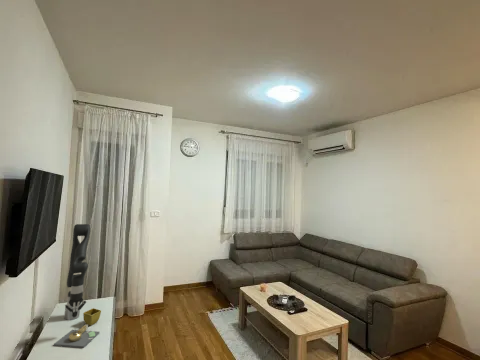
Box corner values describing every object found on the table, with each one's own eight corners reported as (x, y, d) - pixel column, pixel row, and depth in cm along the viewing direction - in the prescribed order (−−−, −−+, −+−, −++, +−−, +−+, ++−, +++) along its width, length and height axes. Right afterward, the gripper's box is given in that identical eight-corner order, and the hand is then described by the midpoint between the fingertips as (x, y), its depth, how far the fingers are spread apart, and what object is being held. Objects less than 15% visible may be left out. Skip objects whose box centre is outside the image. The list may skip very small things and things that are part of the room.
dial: (76, 342, 160) (77, 336, 160) (66, 341, 160) (66, 335, 161) (91, 329, 175) (91, 324, 175) (81, 329, 175) (82, 323, 175)
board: (53, 345, 157) (53, 343, 157) (73, 330, 175) (73, 328, 175) (85, 348, 157) (85, 345, 157) (101, 332, 175) (101, 330, 175)
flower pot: (100, 322, 188) (101, 310, 189) (90, 327, 180) (91, 315, 181) (92, 319, 191) (93, 308, 192) (81, 325, 183) (83, 312, 184)
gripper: (66, 295, 165) (63, 321, 163) (88, 290, 174) (86, 316, 172) (64, 291, 170) (62, 317, 169) (86, 287, 179) (84, 312, 178)
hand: (74, 316), depth 170 cm, fingers closed
